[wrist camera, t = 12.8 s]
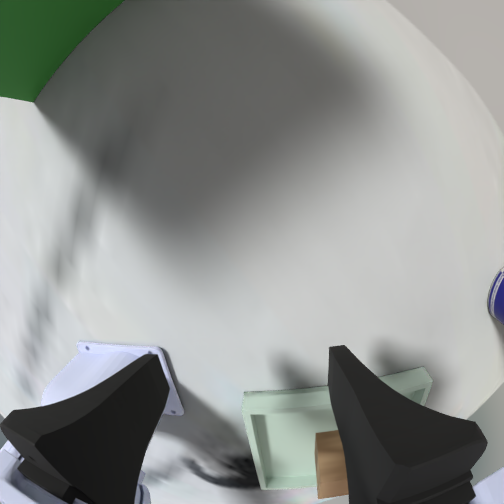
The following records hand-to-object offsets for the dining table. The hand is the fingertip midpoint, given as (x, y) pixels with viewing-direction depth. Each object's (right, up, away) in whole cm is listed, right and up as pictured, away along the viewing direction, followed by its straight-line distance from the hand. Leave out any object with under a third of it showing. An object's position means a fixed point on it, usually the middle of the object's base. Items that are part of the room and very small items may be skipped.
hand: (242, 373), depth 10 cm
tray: (+9, -14, +12) cm, 20 cm away
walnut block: (+9, -14, +11) cm, 20 cm away
